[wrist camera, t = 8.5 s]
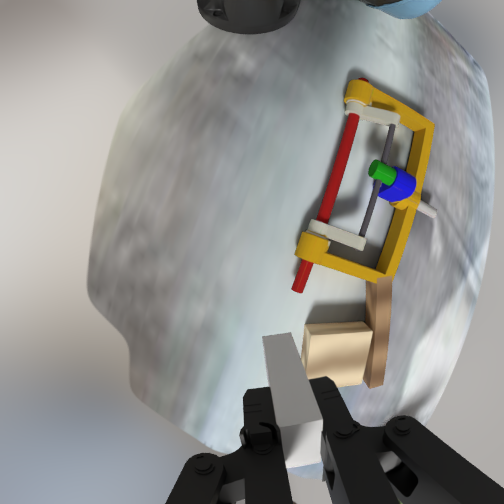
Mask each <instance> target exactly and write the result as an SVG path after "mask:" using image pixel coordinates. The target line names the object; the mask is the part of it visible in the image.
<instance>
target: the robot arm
mask: <svg viewBox="0 0 504 504" xmlns="http://www.w3.org/2000/svg"><path fill="white" fill-rule="evenodd" d="M299 1H300V0H197V4H198V9H199V12H200V14H201V15H202V17H203V18H204V19H205V20H206V21H207V22H208V23H210V24H211V25H213V26H215V27H217V28H219V29H222V30H224V31H228V32H232V33H239V34H260V33H266V32H270V31H274V30H276V29H279V28H281V27H283V26H285V25H286V24H287V23H289V22H290V21H291V20H292V19H293V17H294V16H295V14H296V11H297V9H298V6H299ZM359 1H361V2H363V3H365V4H366V5H367V6H369V7H371V8H375V9H379V10H381V11H383V12H385V13H387V14H389V15H391V16H393V17H395V18H399V19H412V18H416V17H419V16H421V15H423V14H425V13H427V12H428V11H430V10H431V9H433V8H434V7H435V6H436V5H437V4H439V3H440V2H441V1H442V0H359ZM262 339H263V347H264V355H265V363H266V371H267V378H268V384H269V387H263V388H255V389H247V391H246V393H245V395H244V396H243V412H244V427H243V428H242V429H241V431H240V435H239V436H240V439H241V443H242V446H241V447H240V448H239V449H238V450H236V451H235V452H233V453H231V454H228V455H225V456H222V457H218V456H217V455H214V454H211V453H200V454H197V455H194V456H192V457H191V458H189V459H188V461H187V462H186V463H185V465H184V467H183V469H182V471H181V474H180V475H179V477H178V480H177V481H176V484H175V485H174V488H173V489H172V492H171V493H170V495H169V497H168V499H167V502H166V503H165V504H236V501H239V500H242V499H245V504H293V501H292V496H291V491H290V485H289V480H288V474H287V468H293V467H299V466H304V465H309V464H314V463H319V462H321V458H322V461H323V464H324V466H323V477H322V481H325V480H326V483H327V487H328V490H329V493H330V497H331V500H332V504H400V503H399V501H398V499H399V500H400V501H401V502H402V503H403V504H504V488H503V487H501V486H500V485H499V484H497V483H496V482H495V481H493V480H492V479H491V478H489V477H488V476H487V475H485V474H484V473H483V472H481V471H480V470H479V469H478V468H476V467H475V466H474V465H472V464H471V463H470V462H469V461H467V460H466V459H465V458H463V457H462V456H461V455H460V454H458V453H457V452H456V451H455V450H453V449H452V448H451V447H449V446H448V445H447V444H446V443H444V442H443V441H442V440H441V439H439V438H438V437H437V436H436V435H434V434H433V433H432V432H431V431H429V430H428V429H427V428H426V427H425V426H423V425H422V424H421V423H420V422H418V421H417V420H416V419H414V418H412V417H410V416H397V417H394V418H392V419H391V420H390V421H388V422H387V424H386V426H381V427H366V426H362V425H360V424H359V423H358V422H356V421H354V420H353V418H352V417H351V415H350V413H349V411H348V409H347V407H346V404H345V402H344V400H343V398H342V397H341V394H340V392H339V390H338V388H337V386H336V384H335V382H334V381H333V380H331V379H330V378H329V377H327V376H324V377H319V378H314V379H309V380H308V377H307V375H306V372H305V369H304V366H303V364H302V361H301V358H300V356H299V353H298V350H297V348H296V345H295V342H294V340H293V337H292V334H291V332H290V333H283V334H277V335H270V336H263V337H262ZM397 498H398V499H397Z"/></svg>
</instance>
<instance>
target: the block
mask: <svg viewBox="0 0 504 504" xmlns="http://www.w3.org/2000/svg"><path fill="white" fill-rule="evenodd" d="M372 333H373V331H372V330H371V329H370V328H369V327H368V326H367V325H366V324H365V323H364V322H363V321H356V322H340V323H321V324H305V325H304V335H303V344H302V353H301V361H302V364H303V366H304V369H305V372H306V375H307V377H308V380H309V379H314V378H319V377H324V376H327V377H329V378H330V379H331V380H333V381H334V382H335V384H336V386H337V387H343V386H351V385H358V384H361V383H362V379H363V375H364V370H365V366H366V362H367V357H368V353H369V348H370V343H371V339H372Z"/></svg>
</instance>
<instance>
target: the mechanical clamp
mask: <svg viewBox="0 0 504 504" xmlns="http://www.w3.org/2000/svg"><path fill="white" fill-rule="evenodd" d="M344 102H345V104H346V105H347V106H346V109H345V115H346V116H348V119H347V122H346V126H345V129H344V133H343V136H342V140H341V143H340V146H339V150H338V153H337V156H336V160H335V163H334V166H333V169H332V173H331V176H330V179H329V182H328V185H327V188H326V191H325V194H324V197H323V200H322V204H321V207H320V210H319V213H318V215H317V218H316V220H313V219H311V221H310V224H309V227H308V230H306V232H303V231H302V234H301V237H300V240H299V243H298V245H297V248H296V251H295V254H294V255H295V256H297V257H299V258H302V261H301V264H300V267H299V269H298V272H297V275H296V278H295V280H294V283H293V286H292V288H291V289H292V290H293V291H295V292H298V293H303V290H304V288H305V285H306V282H307V280H308V277H309V274H310V272H311V269H312V266H313V264H314V263H315V264H319V265H322V266H325V267H328V268H331V269H334V270H337V271H340V272H343V273H346V274H349V275H352V276H355V277H358V278H361V279H364V280H367V281H370V282H373V283H376V284H377V278H382V277H387V276H392V281H393V279H394V276H395V273H396V271H397V268H398V265H399V263H400V260H401V257H402V254H403V251H404V248H405V245H406V242H407V239H408V236H409V233H410V230H411V226H412V223H413V220H414V216H415V213H416V209H417V210H418V211H420V212H422V213H424V214H426V215H428V216H429V217H431V218H435V217H436V215H437V209H435V208H434V207H432V206H430V205H429V204H427V203H425V202H423V201H422V200H421V190H422V186H423V182H424V178H425V174H426V169H427V165H428V160H429V155H430V150H431V144H432V139H433V133H434V127H435V124H434V123H432V122H431V121H429V120H428V119H426V118H425V117H423V116H422V115H420V114H419V113H417V112H416V111H414V110H412V109H411V108H409V107H408V106H406V105H404V104H403V103H401V102H399V101H398V100H396V99H394V98H392V97H391V96H389V95H387V94H385V93H383V92H382V91H380V90H378V89H376V88H374V87H373V86H372V85H371V84H369V81H368V80H367V79H365V78H359V79H358V80H351V81H349V84H348V87H347V91H346V94H345V98H344ZM359 120H366V121H370V122H374V123H378V124H382V125H386V126H390V127H389V131H388V135H387V140H386V144H385V148H384V152H383V156H382V159H381V162H380V161H378V160H374V161H373V162H372V163H371V165H370V167H369V171H368V174H369V176H370V177H372V178H374V179H376V180H375V183H374V186H373V191H372V195H371V198H370V201H369V205H368V208H367V211H366V214H365V217H364V220H363V223H362V226H361V229H360V232H359V235H355V234H352V233H350V232H347V231H344V230H341V229H339V228H336V227H333V226H330V225H327V224H328V221H329V218H330V215H331V212H332V209H333V206H334V203H335V200H336V197H337V194H338V190H339V187H340V184H341V181H342V178H343V174H344V171H345V168H346V165H347V161H348V158H349V154H350V151H351V148H352V144H353V141H354V137H355V133H356V130H357V126H358V122H359ZM399 122H400V123H401V124H403V125H405V126H406V127H408V128H410V129H411V130H413V131H415V133H414V138H413V143H412V147H411V152H410V156H409V161H408V165H407V169H406V172H405V171H403V170H402V169H400V168H398V167H396V166H393V167H390V166H388V165H386V164H387V160H388V156H389V152H390V148H391V144H392V140H393V135H394V131H395V128H398V126H399ZM377 196H379V197H381V198H383V199H385V200H387V201H389V203H390V205H391V206H393V207H395V208H396V210H395V213H394V216H393V220H392V223H391V226H390V229H389V232H388V235H387V238H386V241H385V244H384V247H383V250H382V253H381V256H380V259H379V261H378V264H377V267H376V269H373V268H370V267H367V266H364V265H362V264H359V263H356V262H353V261H350V260H347V259H345V258H342V257H339V256H336V255H333V254H330V253H328V252H327V251H328V249H329V246H330V243H331V242H330V241H328V240H329V239H332V240H334V241H337V242H340V243H342V244H345V245H348V246H350V247H353V248H354V249H355V250H357V251H360V250H361V251H363V249H364V246H365V244H366V241H367V239H366V238H364V237H365V234H366V231H367V228H368V225H369V222H370V219H371V216H372V212H373V209H374V206H375V203H376V199H377Z"/></svg>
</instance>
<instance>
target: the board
mask: <svg viewBox="0 0 504 504" xmlns="http://www.w3.org/2000/svg"><path fill="white" fill-rule="evenodd" d="M391 300H392V276H387V277H382V278H377V284H376V283H373V282H370V281H367V280H366V315H365V324H366V325H367V326H368V327H369V328H370V329H371V330H372V331H373V333H372V339H371V343H370V348H369V353H368V357H367V362H366V366H365V370H364V375H363V380H364V382H365V383H366V384H367V386H368V387H369V389H371V388H374V387H378V386H381V385H383V382H384V375H385V368H386V360H387V351H388V342H389V331H390V318H391Z"/></svg>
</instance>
